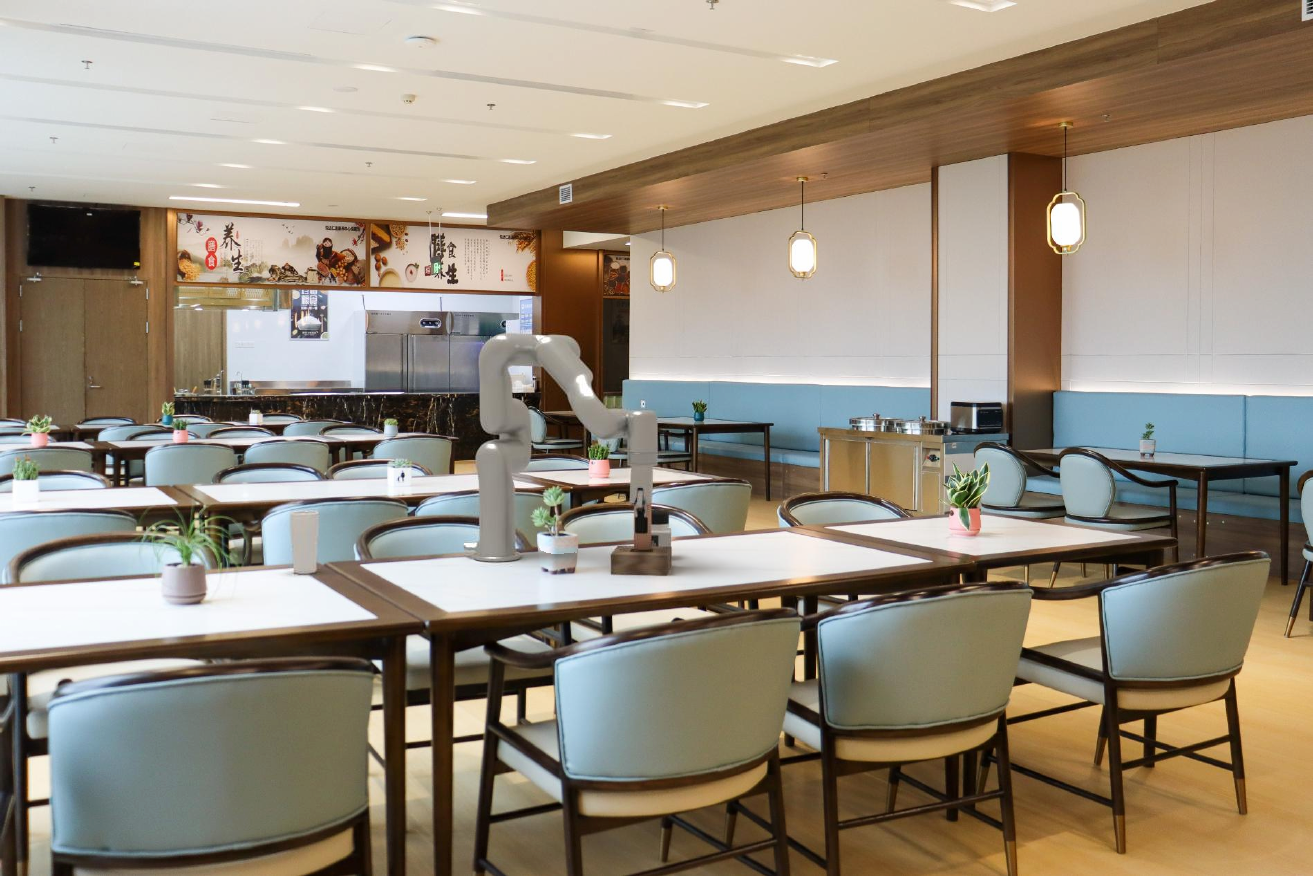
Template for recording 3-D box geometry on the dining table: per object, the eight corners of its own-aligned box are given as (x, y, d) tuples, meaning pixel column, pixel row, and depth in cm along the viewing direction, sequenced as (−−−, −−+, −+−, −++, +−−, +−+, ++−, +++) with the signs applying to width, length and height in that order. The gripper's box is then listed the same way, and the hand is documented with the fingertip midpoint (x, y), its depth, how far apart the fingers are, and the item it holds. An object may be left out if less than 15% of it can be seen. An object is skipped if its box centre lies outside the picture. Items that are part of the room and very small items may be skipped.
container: (670, 560, 307) (671, 511, 306) (641, 560, 307) (641, 511, 307) (671, 556, 315) (671, 508, 314) (642, 555, 315) (642, 508, 314)
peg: (632, 549, 290) (632, 501, 289) (634, 546, 294) (634, 499, 294) (650, 549, 290) (650, 501, 289) (652, 547, 294) (652, 500, 293)
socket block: (610, 574, 286) (610, 554, 286) (617, 564, 300) (617, 545, 300) (667, 575, 285) (667, 555, 285) (671, 566, 299) (671, 546, 299)
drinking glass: (311, 575, 282) (310, 514, 281) (285, 574, 283) (284, 513, 282) (324, 571, 288) (323, 511, 288) (299, 569, 290) (298, 510, 289)
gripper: (631, 456, 300) (631, 527, 301) (623, 462, 283) (623, 536, 284) (660, 457, 299) (660, 527, 300) (654, 462, 282) (654, 537, 283)
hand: (642, 531), depth 292 cm, fingers closed on peg, 4 cm apart
